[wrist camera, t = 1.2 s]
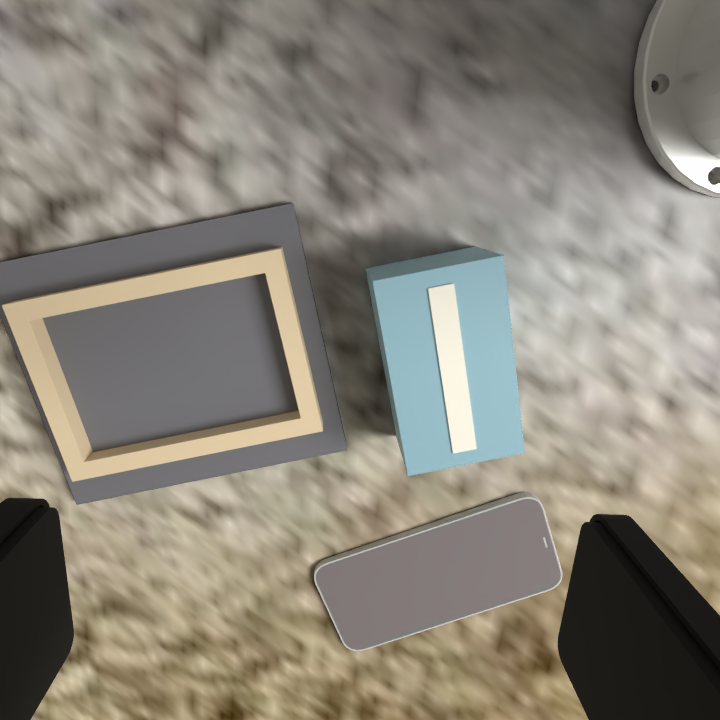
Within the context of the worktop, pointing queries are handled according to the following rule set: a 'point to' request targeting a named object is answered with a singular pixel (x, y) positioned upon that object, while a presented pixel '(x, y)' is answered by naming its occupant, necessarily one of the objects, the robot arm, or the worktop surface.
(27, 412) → the worktop surface
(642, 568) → the robot arm
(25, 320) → the mat
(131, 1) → the worktop surface
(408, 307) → the card box
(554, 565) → the smartphone
